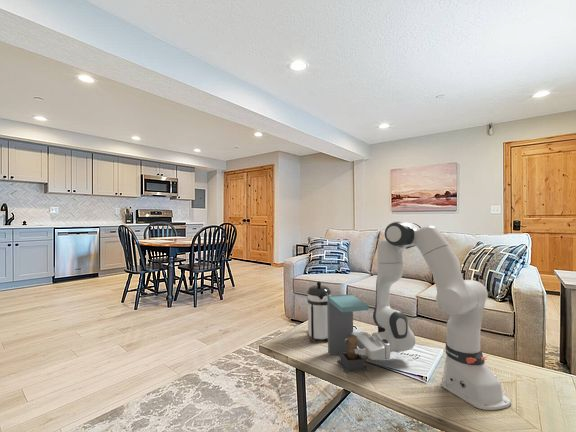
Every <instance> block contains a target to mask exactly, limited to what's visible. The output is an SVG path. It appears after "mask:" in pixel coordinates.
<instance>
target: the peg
mask: <svg viewBox="0 0 576 432" xmlns="http://www.w3.org/2000/svg"><path fill="white" fill-rule="evenodd" d="M354 348H358V346H357V336H355V335H348V361H349V360H357V354H355V353H354Z"/></svg>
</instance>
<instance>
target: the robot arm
mask: <svg viewBox="0 0 576 432" xmlns="http://www.w3.org/2000/svg"><path fill="white" fill-rule="evenodd" d="M414 247H417V249H418V251H420V253H421V256H422V257H423V259H424V261H425V262H426V264H427V266H428V268H429V270H430V272H431V274H432V277H433V281H434V283H435V287H436V297H435V300H436V304H437V307H438V308H439V309H440V310H441V311H442V312H443V313H445V314H447V315H450V316H449V318H448V320H447V322H446V343H445V347H444V348H445V354H446V358H445V361H444V366H443V367H444V368H443V374H442V381H441V384H440V386H441V387H442V388H444V389H445V390H447V391H449V392H450V393H452V394H454V395H455V396H457V397H459V398H460V399H461V400H463V401H465V402H467V403H468V404H470V405H471V406H473V407H475V408H477V409H480V410H484V411H485V410H486V411H495V410H502V409H506V408H508V407H510V405H511V404H512V401H511V399H510V398H509V397H508V396H507V395H505V394H504V393H503V388H502V387H503V386H502V384H501V381H500V380H499V379H498V376H497V375H496V374H494V373H493V372H492V369H490V368H489V366H488V365H487V364H486V361H485V360H488V356H485V355H484V354H483V351H482V348H481V327H482V321H483V317H484V311H485V306H486V305H485V304H486V301H487V300H488V297H489V295H488V289H487V288H486V286H485V285H484V284H483V283H481V282H479V281H477V280H473V279H464V278H463V275H462V271H461V262H460V260H459V258H458V256H457V255H456V253H455V252H454V250H453V248H452V246H451V245H450V243H449V242H448V240H447V239H446V237H445V236H444V235H443V234H442V232H441V231H440V230H439V229H438V228H437V227H436V226H434V225H426V226H425V225H424V226H420V225H419V224H416V223H413V222H412V223H411V222H409V221H393V222H391V223H389V224H388V225H387V226H386V228H385V230H384V239H382V240H380V241H379V242H378V245H377V254H376V256H377V257H376V259H377V276H376V281H375V282H376V283H375V284H376V285H375V307H374V309H373V313H372V318H373V322H374V324H375V325H376V326H377V327H378V326H379V327H381V328H384V329H385V331H384V332H378V331H377V332H373V333H372V334H369V333H368V332H366V331H353V333H351V335H355V336H357V348H354V353H355V354H359V355H364V356H366V357H368V358H369V359H370V360H373V361H380V360H390V359H391V353H392V352H393V353H401V352H402V353H403V352H405V351H406V352H407V351H409V350H412V349H413V348H414V347H415V346H416V337H415V334H414V332H413V331H412V329H411V328H410V326H409V321H408V318H407V315H406V314H405V313H404V312H402V311H399V310H398V309H394V308H392V307H391V306H390V293H391V292H390V290H391V287H392V285H393V284H395V283H397V282H398V281H399V280H401V279H402V277H403V275H404V262H403V252H404V250H408V249H410V248H414ZM345 343H346V344H348V339H345Z"/></svg>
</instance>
